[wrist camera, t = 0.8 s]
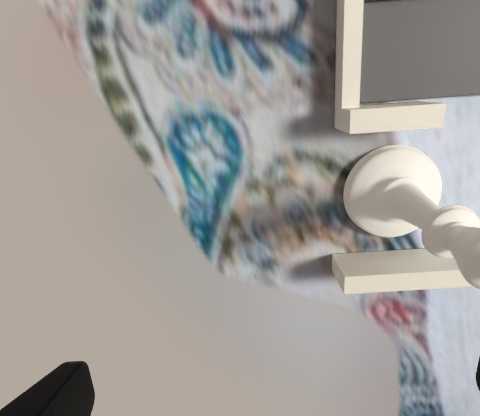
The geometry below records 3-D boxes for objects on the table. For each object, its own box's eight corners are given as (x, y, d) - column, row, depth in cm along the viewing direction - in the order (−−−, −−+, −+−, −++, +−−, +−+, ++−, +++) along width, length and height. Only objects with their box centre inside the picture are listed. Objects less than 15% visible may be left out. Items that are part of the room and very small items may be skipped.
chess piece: (325, 210, 19) (415, 334, 9) (377, 127, 17) (547, 173, 8) (400, 247, 19) (554, 398, 10) (455, 171, 18) (699, 261, 8)
